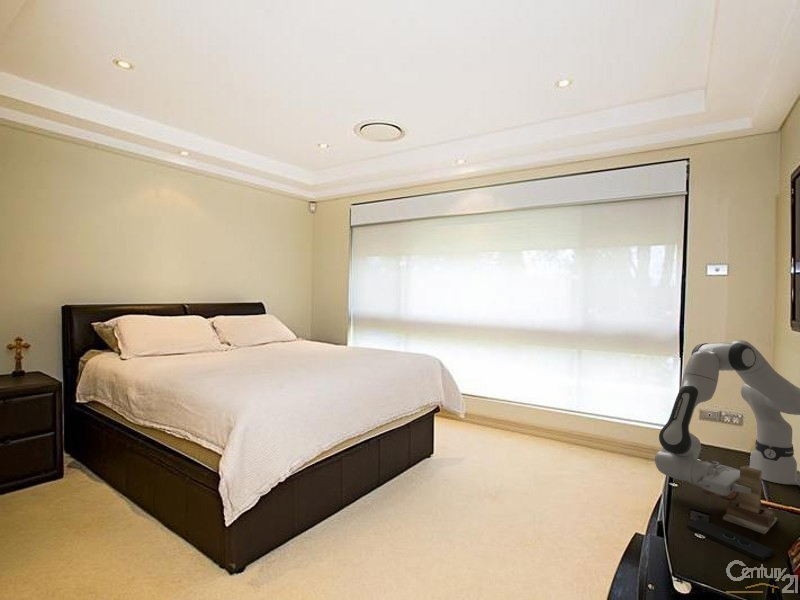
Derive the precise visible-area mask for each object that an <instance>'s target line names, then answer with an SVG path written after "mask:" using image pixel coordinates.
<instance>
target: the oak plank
mask: <svg viewBox="0 0 800 600" xmlns="http://www.w3.org/2000/svg"><path fill="white" fill-rule="evenodd" d="M739 468H740V469H739V470H740V485H741V486H748V487H751V488H752V493H750V494H748V493H745V492H738V493H739V495H738V496H739V497H738V498H739V499H738V500H739V507H740V508H743V509H746V510H749V511H752V512H755V513H758V514H759V513H760V510H761V505H762V504H761V503H762V499H761V498H762V479H761V476H762V470H758V469H754V468H750V467H748V466H747V465H742V466H740V467H739Z"/></svg>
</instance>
